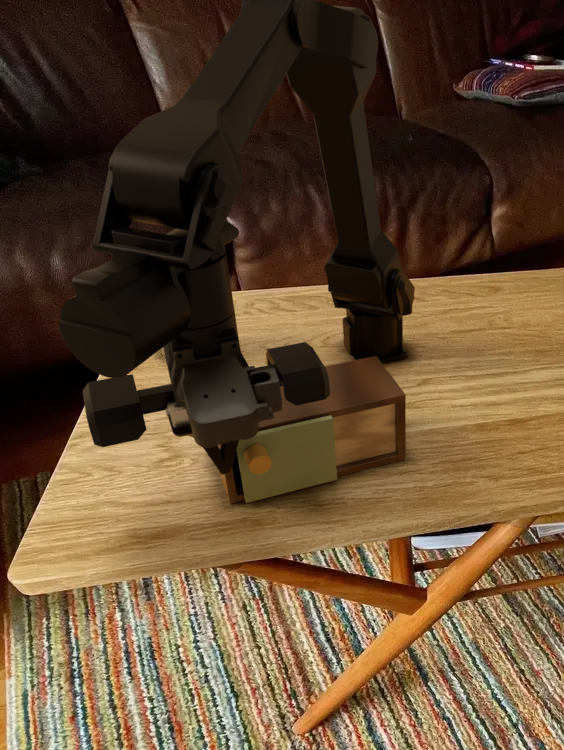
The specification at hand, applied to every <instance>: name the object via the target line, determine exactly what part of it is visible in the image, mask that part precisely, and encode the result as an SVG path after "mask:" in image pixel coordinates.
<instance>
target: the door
mask: <svg viewBox="0 0 564 750" xmlns="http://www.w3.org/2000/svg"><path fill="white" fill-rule="evenodd" d="M237 456H238V462H239V468H240V473H241V479H242V485H243V491H244V497H245V500H244V501H245V504H248V503H252V502H256V501H260V500H264V499H268V498H272V497H275V496H279V495H284V494H287V493H291V492H295V491H299V490H302V489H306V488H310V487H314V486H318V485H322V484H326V483H331V482H333V481H338V477H337V468H336V454H335V439H334V425H333V418H332V416H331V415H330V416H326V417H321V418H317V419H312V420H308V421H303V422H299V423H294V424H290V425H286V426H281V427H277V428H272V429H268V430H263V431H259V432H258V433H257V435H256V436H254V437H253V438H250V439H246V440H242V439H240V440H239V443H238V446H237Z"/></svg>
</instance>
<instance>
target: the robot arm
mask: <svg viewBox="0 0 564 750" xmlns="http://www.w3.org/2000/svg"><path fill="white" fill-rule="evenodd" d="M378 38H379V37H378V31H377V29H376V27H375V26H374V23H373V21H372V19H371V17H370V15H366V13H365V12H364V10H363V9H362V8H359V7H352V6H350V7H349V6H342V5H341V6H340V5H332V4H331V5H330V4H328V3H325V2H322V1H319V0H241V7H240V13H239V15H238V16H237V18H236V19H235V20H234V22H233V23H232V25H231V26H230V28H229V29H228V30H227V32H226V33H225V35H224V37H223V38H222V40H221V41H220V42H219V43H218V45H217V47H216V48H215V49H214V51H213V53H212V54H211V56H210V57H209V59H207V61H206V63H205V64H204V66H203V67H202V69H201V70H200V72H199V73H198V74H197V76H195V78H194V80H193V82H192V83H191V85H190V86H189V87H188V89H187V90H186V92H185V94H184V95H183V96H182V97H181V98H180V99H179V100H178V101H177V102H176V103H175V104H174V105H173V106H170V107H169V108H166V109H164V110H162V111H159V112H157V113H155V114H153V115H150V116H148V117H146V118H144V119H142V120H141V121H140V122H139V123H138V124H137V125H136V126H135V127H134V128H133V129H131V131H130V132H129V133H127V135H125V136H124V137H123V138H122V139H121V140H120V141H119V142H118V143H117V144H116V146H115V148H114V150H113V152H112V154H111V156H110V158H109V162H108V172H107V176H106V180H105V186H104V190H103V195H102V199H101V204H100V209H99V214H98V219H97V223H96V227H95V232H94V238H93V240H92V249H93V252H96V253H101V254H106V255H111V256H112V258H111V259H109V260H108V261H106V262H104V263H102V264H101V265H98V266H97V267H95V268H91V269H87V270H84V271H82V272H80V273H78V274H77V275H75V276H73V277H72V279H71V285H72V288H73V291H74V294H75V295H74V296H72V297H71V298H69V299H67V300H66V301H65V302H64V304H62V307H61V310H60V314H59V315H60V319H59V322H58V329H59V332H60V334H61V337H62V340H63V342H64V343H65V345H66V347H67V348H68V349H69V351H70V352H71V354H72V355H73V356H74V357H75V358H76V359H77V361H79V362H80V363H81V364H82V365H83V366H85V367H86V368H87V369H89V370H91V371H92V372H93V373H95V374H98V375H100V376H102V377H104V379H98V380H93V381H88V382H87V384H86V385H85V386H84V388H83V390H82V397H83V403H84V409H85V416H86V421H87V425H88V429H89V432H90V436H91V438H92V442H93V445H94V446H97V447H100V448H106V447H110V446H115V445H120V444H121V445H122V444H125V443H129V442H134V441H138V440H140V438H141V437H142V436H143V434H144V433H145V432H146V431H147V425H146V421H145V417H144V416H145V415H148V414H154V413H158V412H163V411H164V412H165V414H166V417H167V418H168V423H169V425H170V428H171V432H172V434H173V435H174V436H175V437H176V438H177V437H178V438H182V437H190V438H193V440H194V442H195V443H196V445H198V446H199V447H201V448H202V449H203V450H204V451H205V453H206V455H207V456H208V457H209V459H210V460H211V462H212V463H213V464H214V466H215V467H216V469H217V471H218V470H219V471H218V473H219V472H220V473H221V474H222V475H223V474H227V473H230V472H231V469H232V465H233V461H234V458H235V454H236V450H237V446H238V443H239V440H240V439H242V440H246V439H250V438H253V437H254V436H256V435H257V433H258V431H259V422H261V421H265V420H269V419H274V415H273V413H274V412H278V411H281V410H282V396H281V389H280V387H281V386H283V390H284V397H285V399H286V400H287V401H289V402H291V403H292V404H294V405H296V406H297V405H302V404H307V403H311V402H316V401H321V400H325V399H327V398H328V396H329V395H330V386H329V377H328V373H327V370H326V368H325V366H326V365H324V363H323V362H322V360H321V358H320V357H319V355H318V354H317V351H316V350H315V349H314V347H313V346H311V345H310V344H309V343H307V342H306V341H303V342H298V343H293V344H287V345H282V346H276V347H271V348H270V347H269V348H267V349H266V352H265V358H266V364H267V365H262V366H258V367H255V365H250V364H248V362H247V359H246V358H245V356H244V354H243V353H242V349H241V345H240V339H239V337H240V336H239V331H238V324H237V317H236V310H235V305H234V297H233V291H232V283H231V278H230V277H231V276H230V271H229V264H228V257H227V250H226V245H228V244H229V243H231V242H232V241H234V240H235V239H236V238H238V237H239V235H240V230H239V228H238V227H237V226H235V225H233V224H232V223H230V222H228V218H229V215H230V213H231V211H232V208H233V205H234V202H235V200H236V198H237V195H238V194H239V190H240V188H241V186H242V184H243V173H242V166H241V160H240V154H241V152H242V149H243V147H244V145H245V143H246V141H247V139H248V137H249V136H250V134H251V132H252V131H253V129H254V128H255V126H256V124H257V123H258V121H259V120H260V118H261V116H262V115H263V113H264V111H265V110H266V108H267V106H268V105H269V103H270V102H271V100H272V98H273V97H274V95H275V93H276V92H277V90H278V88H279V87H280V85H281V84H282V82H283V80H284V79H285V77H287V80H288V83H289V86H290V88H291V89H292V90H293V92H294V93H295V94H296V95H297V96H298V98H299V99H300V100H301V101H302V103H303V104H304V105H305V106H306V107H307V109H308V110H309V111H310V112H311V113H312V116H313V120H314V126H315V131H316V136H317V141H318V146H319V152H320V157H321V164H322V168H323V173H324V178H325V183H326V188H327V194H328V198H329V203H330V204H329V205H330V209H331V214H332V220H333V225H334V231H335V235H336V244H335V247H334V248H333V250H332V252H331V254H330V256H329V258H328V260H327V262H326V263H325V265H324V272H325V276H326V279H327V291H328V292H329V293H330V295H331V299H332V302H333V305H334V308H336V309H344V310H345V314H346V315H345V317H343V318H342V332H343V333H342V335H343V336H342V337H343V340H342V341H343V347H344V349H345V351H346V352H347V353H348V354H349V356H350V357H352V358H353V360H358V359H363V358H368V357H373V356H377V358H378V359H379V360H380V361H381V363H382V364H383V363H387V362H392V361H396V360H401V359H407V358H408V357H409V351H407V349H406V348H405V346H404V335H403V334H404V331H403V330H404V328H403V327H404V321H403V319H404V317H405V316H410V315H411V314H413V304H414V300H415V290H416V288H415V286H414V284H413V282H412V281H411V280H410V278H409V277H408V275H407V274H406V273H405V271H404V270H403V267H402V263H401V258H400V254H399V250H398V248H397V247H396V246H395V245H394V244H393V242H392V241H391V240H390V239H389V237H388V236H387V235H386V234H385V233H384V232H383V231H382V227H381V222H380V214H379V208H378V207H379V206H378V199H377V192H376V185H375V178H374V170H373V164H372V156H371V155H372V154H371V149H370V141H369V133H368V127H367V126H368V125H367V119H366V113H365V103H364V101H365V98H366V96H367V94H368V92H369V90H370V88H371V86H372V83H373V81H374V80H375V77H376V74H377V57H378V51H379V39H378ZM133 221H134V222H138V223H142V224H149V225H154V226H158V227H165V228H170V229H173V230H171V231H169V232H167V233H161V232H156V231H150V230H144V229H139V228H132V227H130V226H131V224H132V222H133ZM162 348H163V349H164V353H165V356H164V357H165V358H164V359H165V362H166V366H167V371H168V375H169V380H170V383H167V384H161V385H155V386H150V387H146V388H141V389H137V385H136V382H135V377H134V374H133V373H131V372H132V371H134V370H135V369H137V368H138V367H139V366H140V365H142V364H143V363H144V362H146V361H147V360H148V359H150V358H151V357H152V356H154V355H155V354H157V353H158V352H159V351H161V349H162ZM218 445H220V449H219V446H218Z"/></svg>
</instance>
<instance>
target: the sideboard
mask: <svg viewBox="0 0 564 750" xmlns="http://www.w3.org/2000/svg"><path fill="white" fill-rule="evenodd" d="M324 366H325V368H326V370H327V373H328V377H329V386H330V395H329V396H328V398H327V399H325V400H321V401H316V402H311V403H307V404H302V405H297V406H296V405H294V404H292V403H291V402H289V401H287V400H286V399H285V397H284V390H283V386H281V387H280V389H281V396H282V410H281V411H278V412H274V413H273V415H274V419H269V420H265V421H261V422H259V431H263V430H268V429H272V428H277V427H281V426H286V425H290V424H294V423H299V422H303V421H308V420H312V419H317V418H321V417H326V416H330V415H331V416H332V418H333V425H334V439H335V454H336V468H337V478H338V477H341V476H345V475H349V474H354V473H357V472H361V471H366V470H368V469H374V468H376V467H380V466H384V465H388V464H392V463H396V462H400V461H404V460H406V451H407V449H406V447H407V445H406V442H407V441H406V439H407V437H406V434H407V433H406V430H407V429H406V425H407V423H406V421H407V420H406V417H407V415H406V414H407V413H406V411H407V410H406V408H407V407H406V395H407V394H406V393H405V392H404V391H403V389H402V388H401V387H400V385H399V384H398V383H397V381H396V380H395V378H393V376H392V375H391V373H390V371H389V370H388V369H387V368H386V366H384V364H383V362H382V363H381V361H380V360H379V359H378V358H377V356H373V357H368V358H363V359H358V360H355V359H353V360H349V361H343V362H339V363H334V364H329V365H324ZM259 431H258V432H259ZM218 446H219V449H220V445H218ZM217 471H218V474H219V477H220V480H221V483H222V485H223V488H224V491H225V493H226V496H227V499H228V501H229V504H230V505H233V504H236V503H239V502H244V501H245V497H244V491H243V485H242V479H241V473H240V468H239V462H238V456H237V450H236V454H235V458H234V461H233V465H232V469H231V472H230V473H227V474H223V475H222V474H221V473H220V472H219V470H218V469H217Z"/></svg>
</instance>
